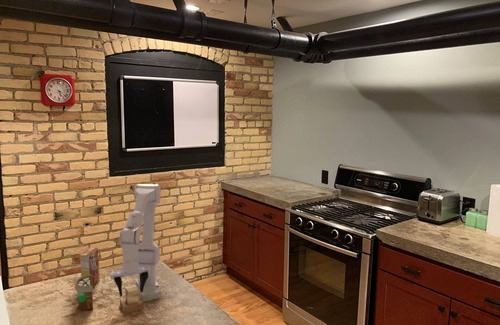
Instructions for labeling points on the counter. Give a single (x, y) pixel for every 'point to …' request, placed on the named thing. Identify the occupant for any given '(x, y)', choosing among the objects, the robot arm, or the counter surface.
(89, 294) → the food container
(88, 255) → the candy box
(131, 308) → the walnut block
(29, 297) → the counter surface
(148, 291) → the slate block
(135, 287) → the maple cube
